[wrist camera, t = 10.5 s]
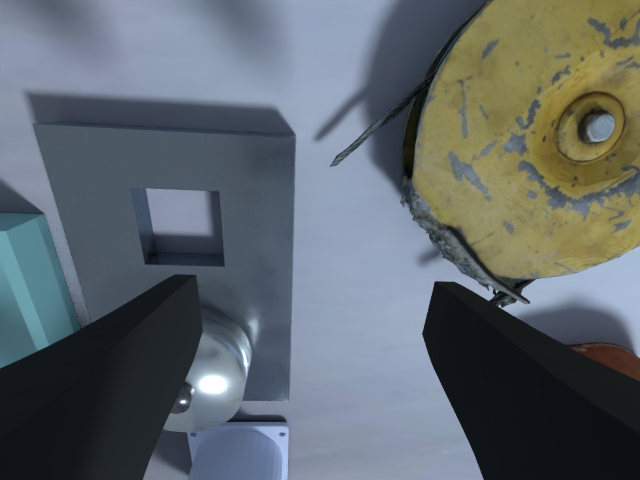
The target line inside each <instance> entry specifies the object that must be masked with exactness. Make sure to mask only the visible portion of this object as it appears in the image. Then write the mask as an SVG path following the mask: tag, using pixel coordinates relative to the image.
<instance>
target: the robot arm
mask: <svg viewBox="0 0 640 480" xmlns="http://www.w3.org/2000/svg"><path fill="white" fill-rule="evenodd" d="M202 332H203V326H202V318H201V309H200V301H199V293H198V284H197V276H196V275H186V274H175V275H173V276H171V277H169V278H167V279H165V280H163V281H162V282H160V283H158V284H157V285H155V286H153V287H152V288H150V289H148V290H147V291H145V292H144V293H142V294H140V295H139V296H137V297H135V298H134V299H132V300H130V301H129V302H127V303H125V304H124V305H122V306H120V307H119V308H117V309H115V310H114V311H112V312H110V313H109V314H107V315H105V316H103V317H101V318H100V319H98V320H96V321H94V322H92V323H91V324H89V325H87V326H85V327H83V328H82V329H80V330H78V331H76V332H74V333H73V334H71V335H69V336H67V337H65V338H63V339H61V340H59V341H57V342H55V343H53V344H51V345H49V346H47V347H45V348H43V349H41V350H39V351H37V352H35V353H32V354H30V355H28V356H26V357H24V358H22V359H20V360H18V361H15V362H13V363H11V364H9V365H7V366H4V367H2V368H0V480H143V477H144V474H145V471H146V469H147V466H148V463H149V460H150V457H151V455H152V453H153V450H154V448H155V445H156V443H157V441H158V438H159V436H160V434H161V432H162V429H163V427H164V425H165V423H166V421H167V419H168V416H169V414H170V412H171V410H172V408H173V406H174V403H175V401H176V399H177V397H178V395H179V393H180V390H181V388H182V386H183V384H184V382H185V379H186V377H187V375H188V373H189V370H190V368H191V366H192V364H193V361H194V358H195V355H196V352H197V349H198V346H199V342H200V339H201V335H202ZM422 335H423V338H424V341H425V344H426V348H427V351H428V354H429V357H430V360H431V363H432V365H433V367H434V370H435V372H436V374H437V376H438V378H439V380H440V382H441V385H442V387H443V389H444V391H445V393H446V395H447V397H448V399H449V401H450V403H451V405H452V407H453V410H454V412H455V414H456V416H457V418H458V420H459V422H460V424H461V426H462V428H463V430H464V432H465V434H466V437H467V439H468V441H469V443H470V446H471V448H472V450H473V452H474V455H475V457H476V460H477V463H478V465H479V468H480V471H481V473H482V476H483V479H484V480H640V381H639V380H637V379H634V378H632V377H630V376H628V375H625V374H623V373H621V372H619V371H616V370H614V369H612V368H610V367H608V366H606V365H604V364H602V363H600V362H598V361H596V360H594V359H591V358H589V357H587V356H585V355H583V354H581V353H579V352H577V351H575V350H573V349H571V348H569V347H567V346H566V345H564V344H562V343H560V342H558V341H556V340H555V339H553V338H551V337H549V336H547V335H545V334H544V333H542V332H540V331H538V330H536V329H535V328H533V327H531V326H530V325H528V324H526V323H524V322H523V321H521V320H519V319H518V318H516V317H514V316H512V315H511V314H509V313H507V312H506V311H504V310H503V309H501V308H499V307H498V306H496V305H494V304H493V303H491V302H489V301H488V300H486V299H484V298H483V297H481V296H479V295H478V294H476V293H474V292H473V291H471V290H469V289H467V288H466V287H464V286H462V285H460V284H458V283H456V282H441V281H435V283H434V288H433V292H432V296H431V300H430V304H429V308H428V313H427V317H426V321H425V325H424V329H423V333H422ZM288 435H289V425H288V424H287V423H285V422H225V423H223V424H222V425H219V426H217V427H215V428H212V429H209V430H204V431H198V432H187V437H188V442H189V448H190V454H191V459H192V467H191V471H190V474H189V477H188V480H287V476H288Z"/></svg>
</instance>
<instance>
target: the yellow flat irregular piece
mask: <svg viewBox="0 0 640 480" xmlns="http://www.w3.org/2000/svg"><path fill="white" fill-rule="evenodd" d="M412 100H413V102H412V104H411V107H410V109H409V112H408V116H407V120H406V124H405V129H404V133H403V143H402V154H401V163H402V170H403V174H402V179H401V188H402V191H403V196H402V199H401V202H400V203H401V204H402V206H403V207H404V202H405V201H406V202H407V203H408V204H409V205H410V212H411V213H412V214H414V217H413V219H412V220H414V221H416V222H418V223H420V227H422V228H423V229H424V230H426V231H427V232H426V233H429V238H430V240H431V241H432V243H433V245H434V246H435V247H437V248H439V249H440V250H441V251H442V253H443V258H446V259H447V260H449V261H450V262H452V263H454V264H455V265H456V267H457V268H458V269H459V270H460V271H461V272H462V273H463V274H465V275H467V276H469V277H471V278H473V279H475V280H477V281H478V283H479V284H480V285H482V286H484V287H486V288H487V290H488V291H489V287H488V285H489V286H492V287H493V288H494V289H493V294H494V295H495V296H494V297H493V298H492V299H491V300H490V301H489V302H491V303H493V304H494V305H496V306H499V305H501V307H502V308H503V307H504V306H507V305H509V304H512V303H515V302H516V301H517V300H519V301H521V302H523V303H525V304H529V303H530V301H529V300H527V299H526V298H525V297H523V296H522V295H521V292H522V289H523V288H524V287H526V286H527V285H529V284H530V283H531V282H533V281H534V280H536V279H539V278H547V277H556V276H563V275H568V274H573V273H577V272H580V271H583V270H586V269H588V268H591V267H594V266H596V265H599V264H602V263H604V262H607V261H610V260H613V259H615V258H618V257H620V256H621V255H623V254H625V253H627V252H629V251H630V250H632V249H634V248H636V247H638V246H640V0H489V1H488V2H487V3H485V4H484V5H482V6H481V7H480V8H478V9H477V10H476V11H474V12H473V13H472V14H471V15H470V16H469V17H468V18H467V19H466V20H465V21H464V22H463V23H462V24H461V25H460V26H459V27H458V28H457V29H456V30H455V31H454V33H453V34H452V35H451V36H450V38H449V39H448V40H447V41H446V43H445V44H444V45H443V46H442V48H441V49H440V50H439V51H438V53H437V54H436V56H435V58H434V59H433V61H432V63H431V65H430V66H429V68H428V70H427V71H426V73H425V75H424V76H423V78H422V80H421V82H420V84H419V85H417V86H416V87H415V88H414V89H413V90H411V91H410V92H409V93H408V94H407V95H406V96H405V97H404V98H403V99H401V100H400V101H399V102H398V103H397V104H396V105H395V106H394V107H393V108H391V109H390V110H389V111H388V112H387V113H386V114H384V115H383V116H382V117H381V118H380V119H379V120H377V121H376V122H375V123H374V124H373V125H372V126H370V127H369V128H368V129H367V130H366V131H365V132H364V133H363V134H362V135H361V136H360V137H359V138H358V139H357V140H356V141H355V142H354V143H352V144H351V145H350V146H349V147H348V148H347V149H345V150H344V151H343V152H341V153H340V154H338V155H337V156H336V158H335V159H334V161H333V162H332V164H331V165H330V167H332V166H335V165H337V164H339V163H340V162H341V161H342V160H343V159H344V158H345V157H347V156H348V155H349V154H350V153H351V152H353V151H354V150H355V149H356V148H357V147H359V146H360V145H361V144H362V143H363V142H364V141H365V140H366V139H367V138H368V137H369V136H370V135H371V134H372V133H373V132H375V131H376V130H378V129H379V128H380V127H382V126H383V125H384V124H386V123H388V122H390V121H391V120H392V119H394V118H395V117H396V116H397V115H398V114H399V113H400V112H401V111H402V110H403V109H404V108H405V107H406V106H407V105H408V104H409V103H410V102H411V101H412ZM495 289H496V290H499V291H498V293H497V294H496V291H495Z"/></svg>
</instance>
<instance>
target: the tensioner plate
mask: <svg viewBox="0 0 640 480" xmlns="http://www.w3.org/2000/svg"><path fill="white" fill-rule="evenodd" d="M33 127H34V130H35V134H36V137H37V140H38V144H39V147H40V151H41V154H42V157H43V161H44V164H45V167H46V171H47V174H48V177H49V181H50V184H51V187H52V191H53V194H54V198H55V201H56V204H57V208H58V211H59V214H60V218H61V221H62V224H63V228H64V231H65V234H66V238H67V241H68V245H69V248H70V251H71V255H72V258H73V261H74V265H75V268H76V271H77V275H78V278H79V281H80V285H81V288H82V292H83V295H84V298H85V302H86V305H87V308H88V312H89V315H90V318H91V322H94V321H96V320H98V319H100V318H101V317H103V316H105V315H107V314H109V313H110V312H112V311H114V310H115V309H117V308H119V307H120V306H122V305H124V304H125V303H127V302H129V301H130V300H132V299H134V298H135V297H137V296H139V295H140V294H142V293H144V292H145V291H147V290H148V289H150V288H152V287H153V286H155V285H157V284H158V283H160V282H162V281H163V280H165V279H167V278H169V277H171V276H173V275H175V274H186V275H196V276H197V284H198V293H199V301H200V309H201V318H202V326H203V332H202V335H201V339H200V342H199V346H198V349H197V352H196V355H195V358H194V361H193V364H192V366H191V368H190V370H189V373H188V375H187V377H186V379H185V382H184V384H183V386H182V388H181V390H180V393H179V395H178V397H177V399H176V401H175V403H174V406H173V408H172V410H171V412H170V414H169V416H168V419H167V421H166V423H165V425H164V427H163V429H164V430H169V431H175V432H198V431H204V430H209V429H212V428H215V427H217V426H219V425H222V424H223V423H225V422H226V421H228V420H229V419H230V418H232V417H233V416H234V415H235V413H236V412H237V411H238V409H239V408H240V405H241V403H242V401H289V390H290V357H291V316H292V275H293V235H294V194H295V153H296V135H287V134H269V133H251V132H233V131H215V130H197V129H179V128H161V127H143V126H125V125H107V124H89V123H71V122H48V123H37V124H33ZM145 188H153V189H176V190H199V191H219V196H220V209H221V222H222V236H223V249H224V255H217V254H186V253H157V252H156V247H155V241H154V235H153V229H152V224H151V218H150V212H149V206H148V201H147V195H146V189H145Z"/></svg>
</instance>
